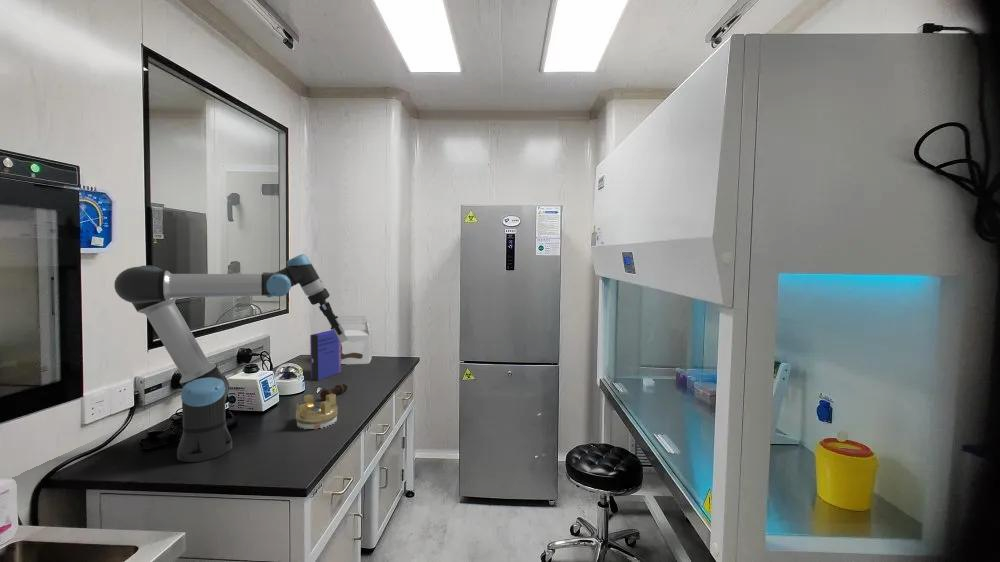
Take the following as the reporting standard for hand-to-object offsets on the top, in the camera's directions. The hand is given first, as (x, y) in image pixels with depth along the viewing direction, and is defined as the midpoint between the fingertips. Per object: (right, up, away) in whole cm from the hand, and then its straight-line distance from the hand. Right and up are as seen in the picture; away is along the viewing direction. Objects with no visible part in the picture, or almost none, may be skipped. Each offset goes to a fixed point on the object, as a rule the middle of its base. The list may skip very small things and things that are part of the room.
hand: (343, 337), depth 174 cm
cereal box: (-30, -29, +58) cm, 71 cm away
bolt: (-13, -31, +26) cm, 43 cm away
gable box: (-27, -27, +89) cm, 97 cm away
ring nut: (-8, -30, -6) cm, 32 cm away
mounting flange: (-8, -33, -6) cm, 34 cm away
